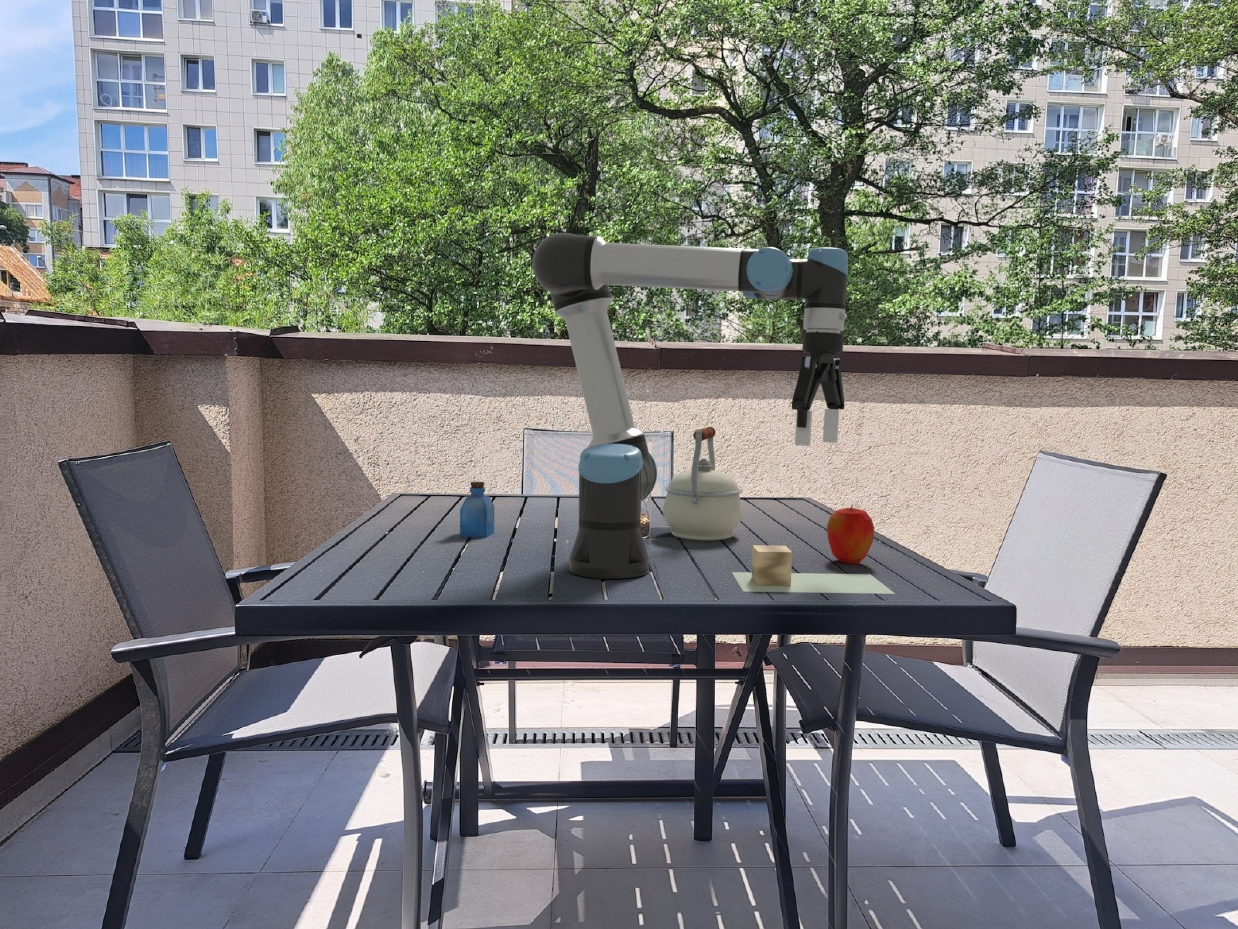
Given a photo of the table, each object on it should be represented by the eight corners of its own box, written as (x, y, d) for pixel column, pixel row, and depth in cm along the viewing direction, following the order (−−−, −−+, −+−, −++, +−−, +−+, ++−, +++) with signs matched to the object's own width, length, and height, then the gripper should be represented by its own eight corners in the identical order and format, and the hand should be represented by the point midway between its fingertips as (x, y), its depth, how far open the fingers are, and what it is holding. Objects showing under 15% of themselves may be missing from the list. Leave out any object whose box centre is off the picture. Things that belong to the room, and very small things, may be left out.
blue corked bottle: (468, 531, 210) (468, 480, 209) (494, 532, 209) (494, 481, 208) (460, 536, 204) (460, 483, 203) (486, 537, 203) (486, 484, 202)
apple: (822, 558, 187) (824, 500, 185) (867, 559, 186) (869, 501, 185) (829, 567, 177) (832, 506, 176) (876, 569, 177) (879, 508, 175)
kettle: (733, 546, 198) (737, 432, 195) (652, 540, 203) (654, 429, 200) (750, 528, 222) (753, 426, 219) (676, 523, 227) (679, 423, 224)
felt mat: (743, 593, 155) (743, 591, 155) (731, 574, 170) (731, 572, 170) (895, 596, 155) (895, 593, 155) (870, 576, 170) (870, 574, 170)
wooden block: (756, 585, 159) (757, 551, 159) (751, 577, 165) (752, 545, 165) (790, 586, 160) (792, 552, 159) (784, 578, 165) (785, 545, 165)
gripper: (816, 328, 160) (809, 448, 162) (865, 335, 180) (858, 442, 182) (777, 328, 164) (770, 445, 166) (829, 335, 184) (822, 439, 186)
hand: (816, 444), depth 174 cm, fingers open, 13 cm apart
